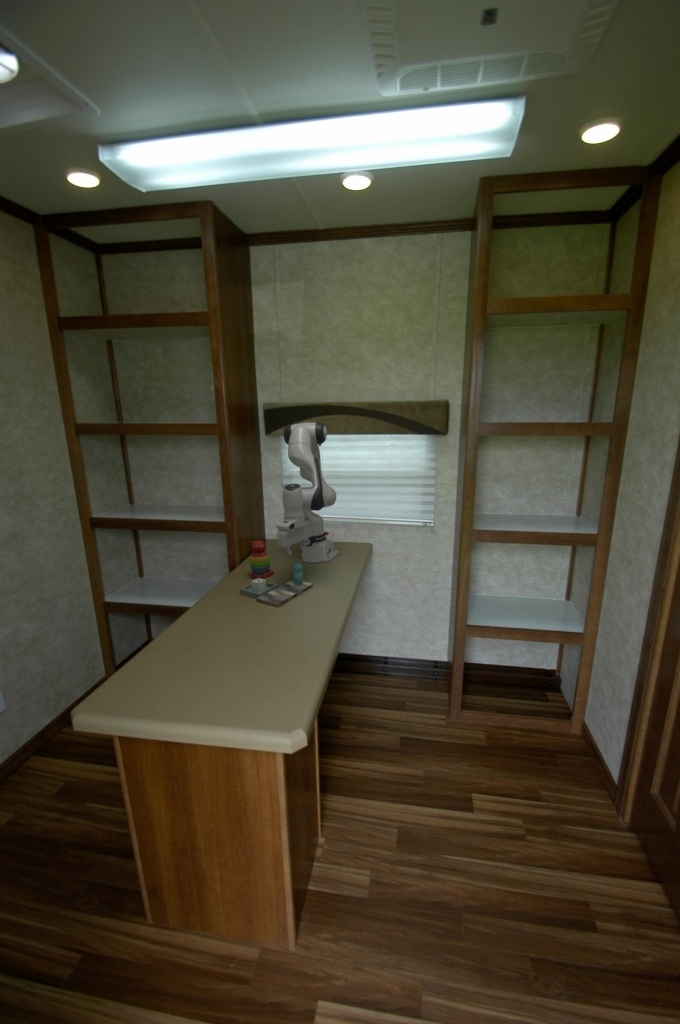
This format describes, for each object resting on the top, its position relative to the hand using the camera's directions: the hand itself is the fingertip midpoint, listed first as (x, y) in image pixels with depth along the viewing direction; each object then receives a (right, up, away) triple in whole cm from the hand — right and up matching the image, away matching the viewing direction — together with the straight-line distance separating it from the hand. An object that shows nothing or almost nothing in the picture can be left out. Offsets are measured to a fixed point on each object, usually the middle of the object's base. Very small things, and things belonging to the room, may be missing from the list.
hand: (296, 551), depth 190 cm
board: (-4, -18, -3) cm, 19 cm away
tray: (-16, -18, 0) cm, 24 cm away
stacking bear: (-19, -14, +19) cm, 30 cm away
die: (-16, -17, -1) cm, 24 cm away
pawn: (+1, -15, +3) cm, 15 cm away
